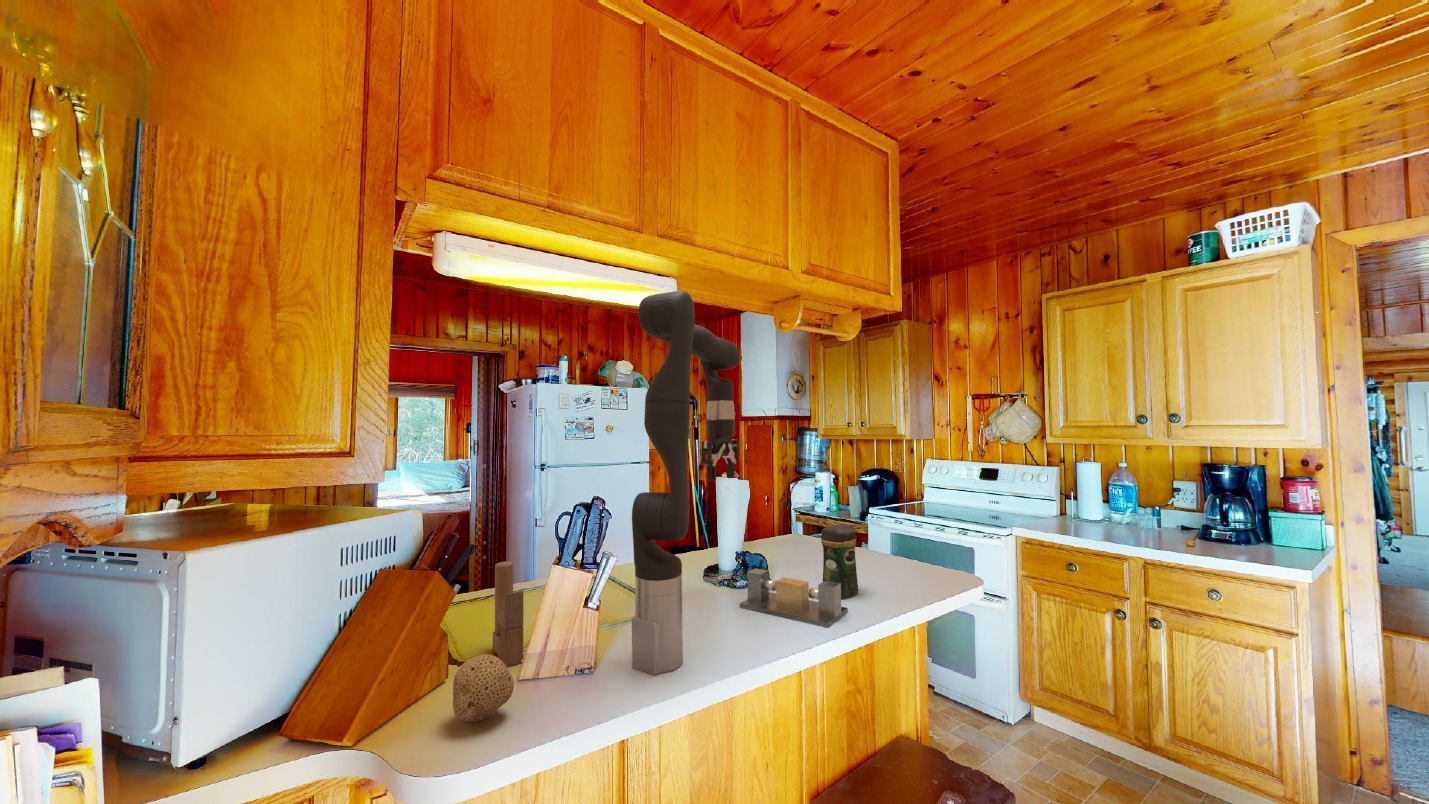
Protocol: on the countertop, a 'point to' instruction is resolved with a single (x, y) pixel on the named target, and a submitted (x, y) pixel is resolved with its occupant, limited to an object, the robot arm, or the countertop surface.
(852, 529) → the coffee jar
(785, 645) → the countertop surface
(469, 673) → the natural sponge
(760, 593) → the stand
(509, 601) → the wooden block
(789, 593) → the block
